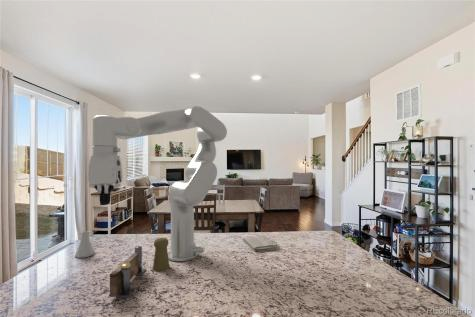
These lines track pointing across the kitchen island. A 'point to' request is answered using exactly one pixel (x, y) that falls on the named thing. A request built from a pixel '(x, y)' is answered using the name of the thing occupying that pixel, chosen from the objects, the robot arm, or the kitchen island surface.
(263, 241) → the washcloth
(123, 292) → the grey upright posts
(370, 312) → the kitchen island surface
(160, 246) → the olive rounded lobed piece
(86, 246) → the flask
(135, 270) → the brown wooden plank
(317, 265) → the kitchen island surface
